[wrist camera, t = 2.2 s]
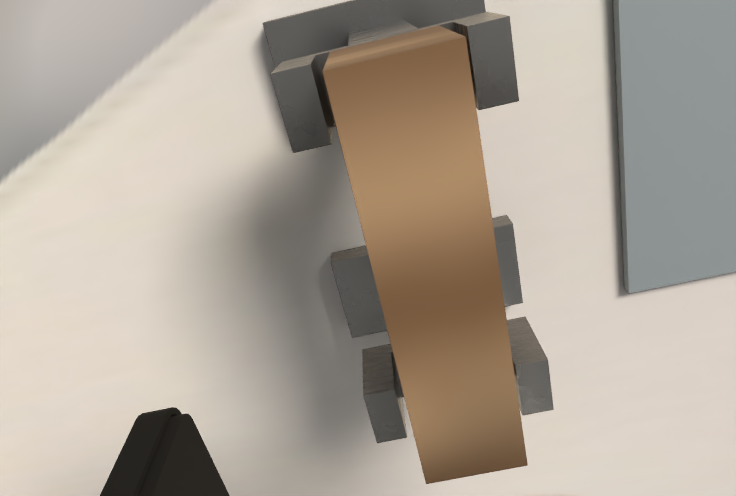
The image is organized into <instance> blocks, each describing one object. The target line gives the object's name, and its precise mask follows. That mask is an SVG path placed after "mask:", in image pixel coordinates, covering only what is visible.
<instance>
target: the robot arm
mask: <svg viewBox="0 0 736 496" xmlns="http://www.w3.org/2000/svg"><path fill="white" fill-rule="evenodd" d="M100 496H229V494H228V492H227V490H226V487H225V485H224V483H223V481H222V479H221V477H220V475H219V473H218V471H217V469H216V467H215V465H214V463H213V460H212V458H211V456H210V454H209V452H208V450H207V448H206V446H205V444H204V442H203V440H202V438H201V436H200V433H199V431H198V429H197V427H196V425H195V423H194V421H193V419H192V417H191V416H190V415H189V414H181V412H180V411H179V410H178V409H177V408H173V407H172V408H167V409H162V410H157V411H152V412H147V413H142V414H141V415H139V416H138V418H137V419H136V421H135V423H134V425H133V427H132V429H131V431H130V433H129V435H128V437H127V440H126V442H125V444H124V446H123V448H122V450H121V452H120V454H119V456H118V459H117V461H116V463H115V465H114V467H113V469H112V471H111V473H110V475H109V478H108V480H107V482H106V484H105V486H104V488H103V490H102V492H101V494H100Z"/></svg>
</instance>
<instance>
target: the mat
mask: <svg viewBox="0 0 736 496" xmlns="http://www.w3.org/2000/svg"><path fill="white" fill-rule="evenodd" d="M613 12H614V38H615V63H616V88H617V114H618V139H619V164H620V190H621V215H622V241H623V266H624V289H625V290H626V291H627V292H628V293H629V294H630V293H634V292H639V291H644V290H649V289H654V288H659V287H664V286H669V285H674V284H679V283H684V282H689V281H693V280H698V279H703V278H708V277H713V276H718V275H723V274H728V273H733V272H736V0H613Z"/></svg>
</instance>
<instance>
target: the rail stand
mask: <svg viewBox="0 0 736 496" xmlns="http://www.w3.org/2000/svg"><path fill="white" fill-rule="evenodd" d="M438 25H439V26H441V27H444V28H446V29H448V30H451V31H453V32H456V33H458V34H460V35H463V36H465V37H466V42H467V49H468V56H469V63H470V70H471V77H472V84H473V91H474V98H475V104H476V108H477V109H478V110H482V109H486V108H491V107H495V106H499V105H504V104H508V103H512V102H517V101H519V97H518V88H517V79H516V70H515V61H514V52H513V43H512V34H511V25H510V17H509V16H507V15H501V14H495V13H489V12H486V11H485V4H484V0H351V1H347V2H343V3H339V4H335V5H331V6H327V7H323V8H319V9H315V10H311V11H307V12H303V13H299V14H295V15H291V16H287V17H283V18H279V19H275V20H271V21H267V22H264V23H263V26H264V30H265V33H266V37H267V40H268V44H269V47H270V51H271V54H272V58H273V61H274V65H275V68H276V69H275V70H274V71H273V72H272V73H271V74H270V75H271V78H272V82H273V85H274V88H275V92H276V95H277V99H278V102H279V106H280V109H281V113H282V116H283V120H284V123H285V126H286V130H287V133H288V137H289V140H290V144H291V147H292V151H293V153H296V152H300V151H304V150H309V149H313V148H317V147H322V146H326V145H330V144H331V142H332V135H333V128H334V127H335V126H336V123H335V119H334V115H333V111H332V107H331V103H330V99H329V95H328V91H327V87H326V83H325V79H324V75H323V69H324V66H325V63H326V61H327V58H328V55H329V53H330V52H331V51H335V50H339V49H343V48H347V47H351V46H356V45H360V44H364V43H368V42H372V41H376V40H380V39H384V38H389V37H393V36H397V35H401V34H405V33H409V32H413V31H417V30H421V29H426V28H430V27H434V26H438ZM492 222H493V229H494V236H495V243H496V250H497V257H498V264H499V271H500V278H501V285H502V292H503V298H504V305H505V306H510V305H515V304H519V303H523V300H522V293H521V285H520V277H519V269H518V261H517V254H516V246H515V238H514V230H513V223H512V222H511V221H510V219H509V218H508V216H507V215H506V216H501V217H496V218H492ZM331 265H332V269H333V272H334V276H335V279H336V283H337V286H338V290H339V293H340V297H341V300H342V304H343V307H344V311H345V314H346V318H347V321H348V325H349V328H350V332H351V335H352V338H354V337H358V336H363V335H368V334H373V333H378V332H383V331H388V330H387V326H386V322H385V318H384V314H383V310H382V306H381V302H380V298H379V294H378V290H377V286H376V282H375V278H374V274H373V270H372V266H371V262H370V258H369V254H368V250H367V246H362V247H358V248H353V249H349V250H344V251H339V252H335V253H332V256H331ZM507 326H508V333H509V340H510V347H511V354H512V361H513V368H514V375H515V382H516V389H517V396H518V402H519V408H520V410H521V413H522V415H528V414H533V413H538V412H543V411H549V410H553V401H552V392H551V383H550V374H549V365H548V359H547V357H546V355H545V353H544V351H543V349H542V347H541V346H540V344H539V342H538V340H537V338H536V336H535V334H534V332H533V330H532V328H531V327H530V325H529V323H528V321H527V319H526V317H521V318H516V319H511V320H507ZM362 353H363V393H364V399H365V403H366V406H367V410H368V413H369V416H370V420H371V423H372V427H373V430H374V434H375V437H376V441H377V443H381V442H386V441H391V440H396V439H402V438H407V433H406V424H405V416H404V408H403V399H402V397H404V394H403V390H402V386H401V382H400V378H399V374H398V370H397V366H396V362H395V358H394V354H393V350H392V346H391V344H388V345H383V346H378V347H373V348H368V349H363V350H362Z"/></svg>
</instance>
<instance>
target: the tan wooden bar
mask: <svg viewBox="0 0 736 496" xmlns="http://www.w3.org/2000/svg"><path fill="white" fill-rule="evenodd" d="M323 75H324V79H325V83H326V87H327V91H328V95H329V99H330V103H331V107H332V111H333V115H334V119H335V123H336V127H337V131H338V135H339V139H340V143H341V147H342V151H343V155H344V159H345V163H346V167H347V171H348V175H349V179H350V183H351V187H352V191H353V195H354V199H355V203H356V207H357V211H358V215H359V219H360V223H361V227H362V231H363V235H364V238H365V242H366V246H367V250H368V254H369V258H370V262H371V266H372V270H373V274H374V278H375V282H376V286H377V290H378V294H379V298H380V302H381V306H382V310H383V314H384V318H385V322H386V326H387V330H388V334H389V338H390V342H391V346H392V350H393V354H394V358H395V362H396V366H397V370H398V374H399V378H400V382H401V386H402V390H403V394H404V398H405V402H406V406H407V410H408V414H409V417H410V421H411V425H412V429H413V433H414V437H415V441H416V445H417V449H418V453H419V457H420V461H421V465H422V469H423V473H424V477H425V481H426V484H429V483H435V482H440V481H445V480H451V479H456V478H462V477H467V476H473V475H478V474H483V473H489V472H494V471H500V470H505V469H511V468H516V467H521V466H527V458H526V451H525V444H524V437H523V430H522V423H521V416H520V409H519V402H518V396H517V389H516V382H515V375H514V368H513V361H512V354H511V347H510V340H509V333H508V326H507V319H506V312H505V305H504V298H503V292H502V285H501V278H500V271H499V264H498V257H497V250H496V243H495V236H494V229H493V222H492V215H491V208H490V201H489V195H488V188H487V181H486V174H485V167H484V160H483V153H482V146H481V139H480V132H479V125H478V118H477V111H476V104H475V98H474V91H473V84H472V77H471V70H470V63H469V56H468V49H467V42H466V37H465V36H463V35H460V34H458V33H456V32H453V31H451V30H448V29H446V28H444V27H441V26H439V25H438V26H434V27H430V28H426V29H421V30H417V31H413V32H409V33H405V34H401V35H397V36H393V37H389V38H384V39H380V40H376V41H372V42H368V43H364V44H360V45H356V46H351V47H347V48H343V49H339V50H335V51H331V52H330V53H329V55H328V58H327V61H326V63H325V66H324V69H323Z"/></svg>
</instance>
